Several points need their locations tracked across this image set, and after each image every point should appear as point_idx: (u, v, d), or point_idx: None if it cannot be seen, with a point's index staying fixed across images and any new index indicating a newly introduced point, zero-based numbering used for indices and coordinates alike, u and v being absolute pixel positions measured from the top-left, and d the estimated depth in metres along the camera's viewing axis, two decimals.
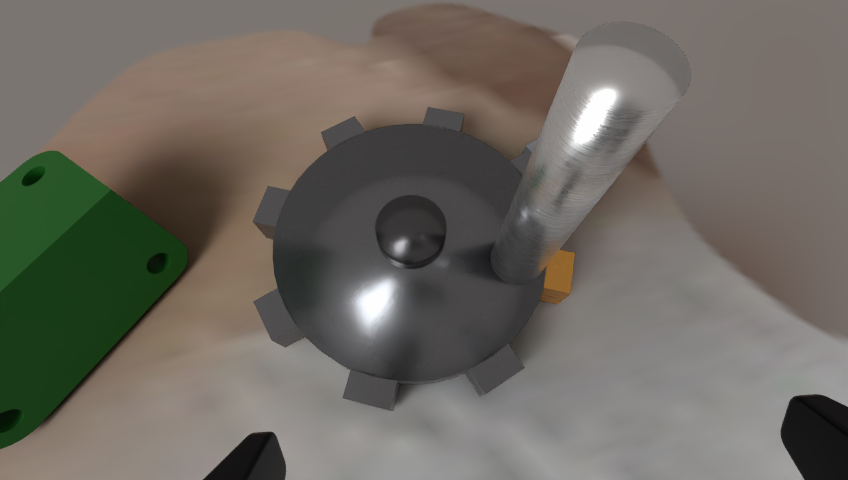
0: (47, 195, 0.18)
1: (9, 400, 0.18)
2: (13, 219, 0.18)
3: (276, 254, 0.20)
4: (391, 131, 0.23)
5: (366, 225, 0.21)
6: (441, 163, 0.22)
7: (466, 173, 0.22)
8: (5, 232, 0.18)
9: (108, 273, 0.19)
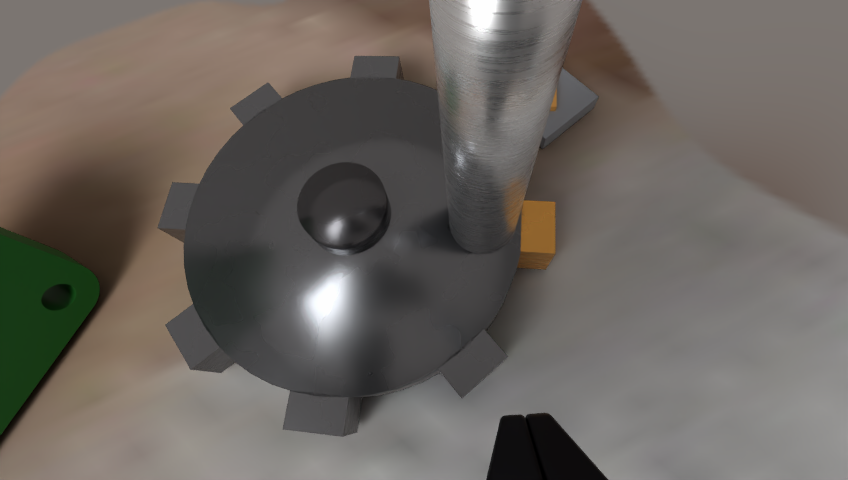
0: None
1: None
2: None
3: (187, 263, 0.16)
4: (313, 92, 0.19)
5: (293, 210, 0.17)
6: (377, 120, 0.18)
7: (409, 126, 0.18)
8: None
9: None
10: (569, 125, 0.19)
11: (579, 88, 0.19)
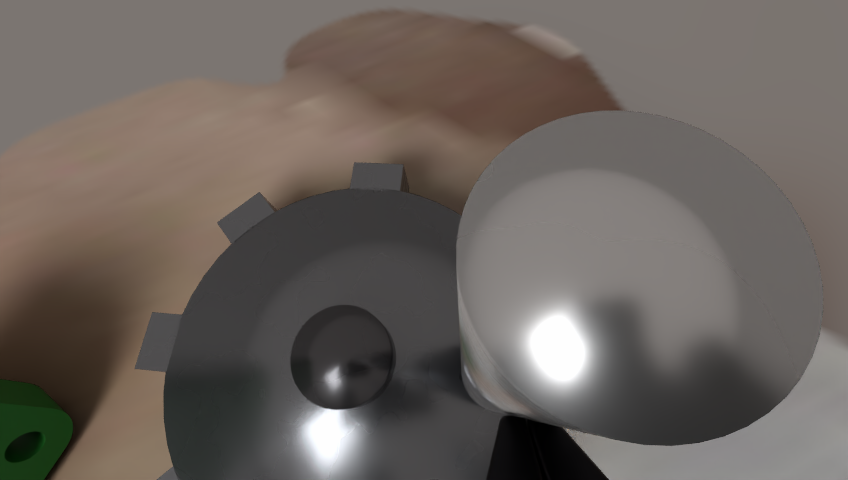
0: None
1: None
2: None
3: (167, 414, 0.15)
4: (309, 205, 0.17)
5: (286, 350, 0.15)
6: (380, 241, 0.16)
7: (415, 250, 0.16)
8: None
9: None
10: None
11: None
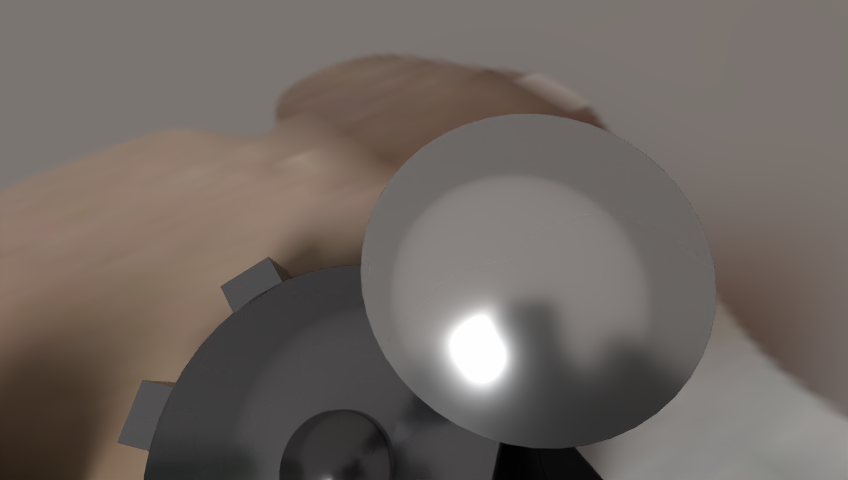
0: None
1: None
2: None
3: None
4: (204, 356, 0.15)
5: None
6: (296, 339, 0.15)
7: (333, 323, 0.15)
8: None
9: None
10: None
11: None
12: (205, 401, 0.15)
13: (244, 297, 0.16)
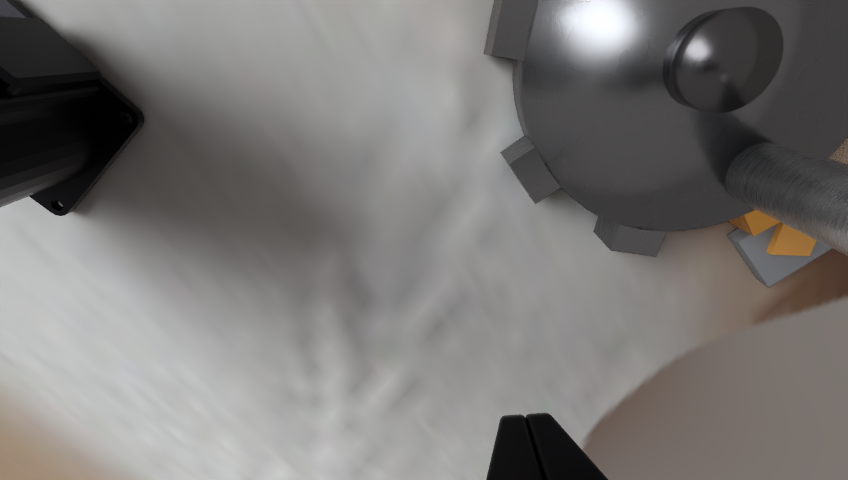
0: None
1: None
2: None
3: None
4: None
5: (686, 0, 0.14)
6: None
7: (843, 33, 0.15)
8: None
9: None
10: (745, 259, 0.21)
11: (783, 272, 0.20)
12: None
13: None
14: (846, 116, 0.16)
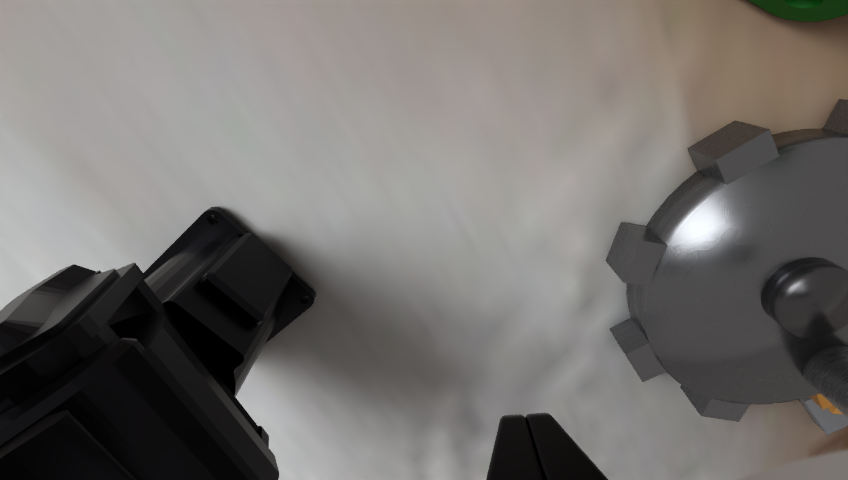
0: None
1: None
2: None
3: (697, 213, 0.17)
4: None
5: (786, 250, 0.18)
6: None
7: None
8: None
9: None
10: (807, 410, 0.24)
11: (841, 424, 0.24)
12: None
13: None
14: None
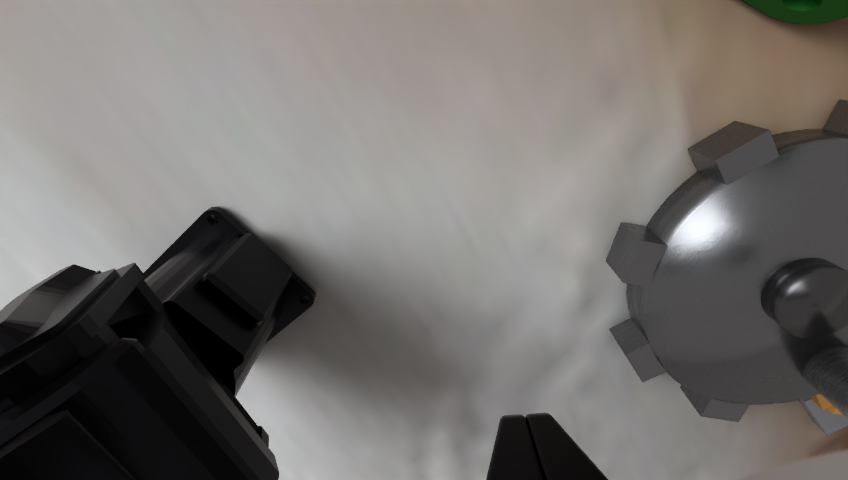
0: None
1: None
2: None
3: (697, 214, 0.17)
4: None
5: (786, 251, 0.18)
6: None
7: None
8: None
9: None
10: (807, 410, 0.24)
11: (841, 425, 0.24)
12: None
13: None
14: None
